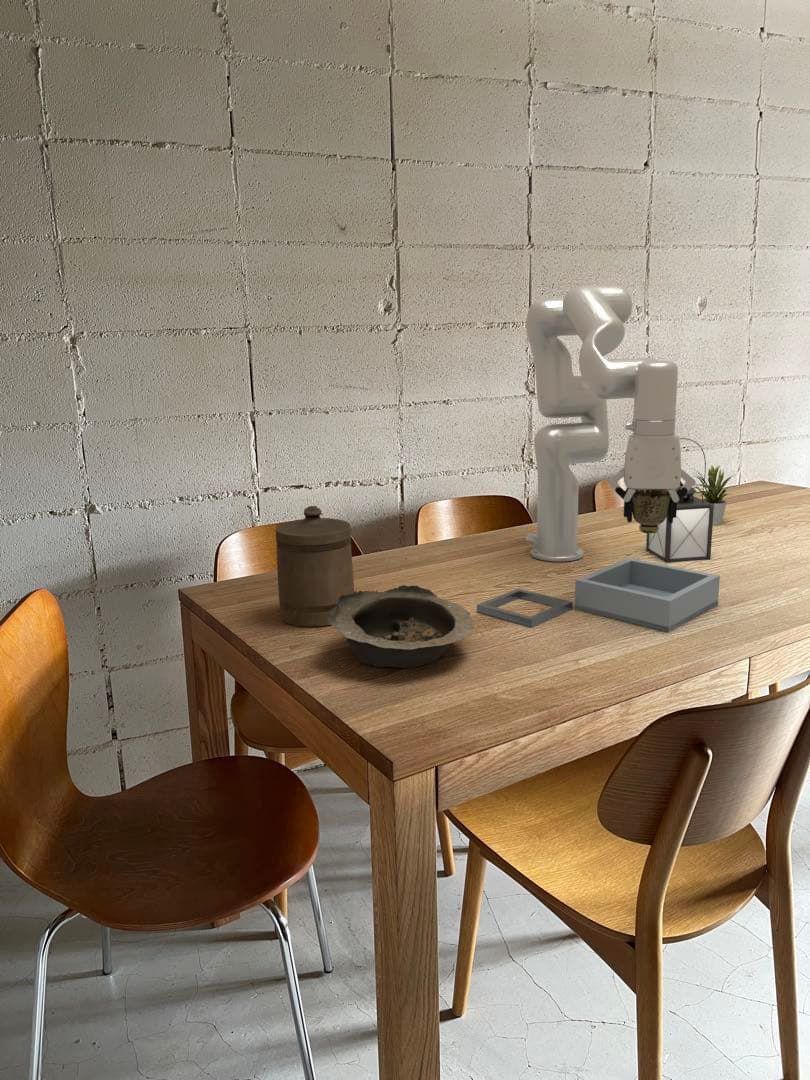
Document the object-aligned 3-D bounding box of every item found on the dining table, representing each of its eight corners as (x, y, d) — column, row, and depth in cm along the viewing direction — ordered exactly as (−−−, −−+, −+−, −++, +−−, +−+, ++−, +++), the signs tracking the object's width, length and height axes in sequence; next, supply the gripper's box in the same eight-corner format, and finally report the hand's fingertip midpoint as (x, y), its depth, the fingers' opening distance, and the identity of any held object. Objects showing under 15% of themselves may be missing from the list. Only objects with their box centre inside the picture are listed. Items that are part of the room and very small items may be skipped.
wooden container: (349, 599, 177) (344, 496, 171) (360, 623, 163) (355, 511, 157) (277, 606, 174) (270, 502, 168) (283, 631, 160) (275, 518, 154)
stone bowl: (342, 626, 161) (343, 579, 158) (473, 637, 158) (476, 589, 156) (315, 677, 137) (316, 623, 134) (469, 691, 135) (473, 636, 132)
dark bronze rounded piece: (677, 533, 161) (679, 492, 159) (646, 538, 158) (647, 497, 156) (651, 525, 168) (653, 486, 166) (621, 530, 165) (622, 490, 163)
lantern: (711, 560, 197) (719, 440, 190) (665, 563, 195) (672, 442, 188) (688, 548, 208) (695, 434, 201) (645, 550, 206) (650, 436, 199)
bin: (574, 608, 167) (575, 579, 165) (627, 585, 180) (628, 558, 179) (668, 632, 153) (670, 601, 151) (717, 604, 167) (719, 575, 165)
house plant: (677, 516, 239) (680, 459, 235) (728, 516, 237) (732, 458, 233) (686, 528, 226) (690, 468, 222) (740, 528, 224) (745, 467, 220)
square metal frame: (476, 611, 167) (476, 604, 166) (518, 595, 176) (518, 588, 175) (532, 627, 157) (532, 619, 157) (572, 609, 167) (572, 601, 166)
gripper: (607, 431, 156) (604, 525, 160) (705, 431, 153) (699, 526, 157) (605, 426, 163) (602, 516, 167) (699, 425, 160) (693, 517, 164)
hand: (649, 520), depth 162 cm, fingers closed on dark bronze rounded piece, 7 cm apart
